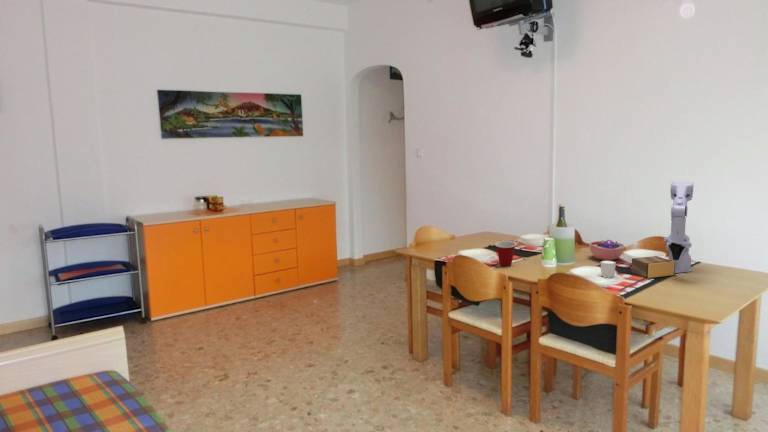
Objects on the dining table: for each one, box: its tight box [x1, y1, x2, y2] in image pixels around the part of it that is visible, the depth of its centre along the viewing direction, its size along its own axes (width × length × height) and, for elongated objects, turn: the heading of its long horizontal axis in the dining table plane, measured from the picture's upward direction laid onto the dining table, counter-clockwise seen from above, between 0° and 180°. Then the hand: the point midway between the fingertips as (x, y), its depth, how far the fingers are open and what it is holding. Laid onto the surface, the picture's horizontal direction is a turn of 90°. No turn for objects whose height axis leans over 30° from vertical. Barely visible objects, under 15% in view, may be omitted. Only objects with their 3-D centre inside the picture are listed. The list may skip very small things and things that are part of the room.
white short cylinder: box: [600, 260, 617, 278], centre depth 258 cm, size 7×7×7 cm
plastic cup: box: [495, 240, 517, 268], centre depth 283 cm, size 11×11×12 cm
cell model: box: [588, 239, 626, 261], centre depth 290 cm, size 17×20×11 cm
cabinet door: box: [647, 261, 676, 279], centre depth 255 cm, size 15×1×7 cm, turn 105°
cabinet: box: [630, 255, 671, 278], centre depth 261 cm, size 14×10×7 cm
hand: (676, 259), depth 249 cm, fingers closed
